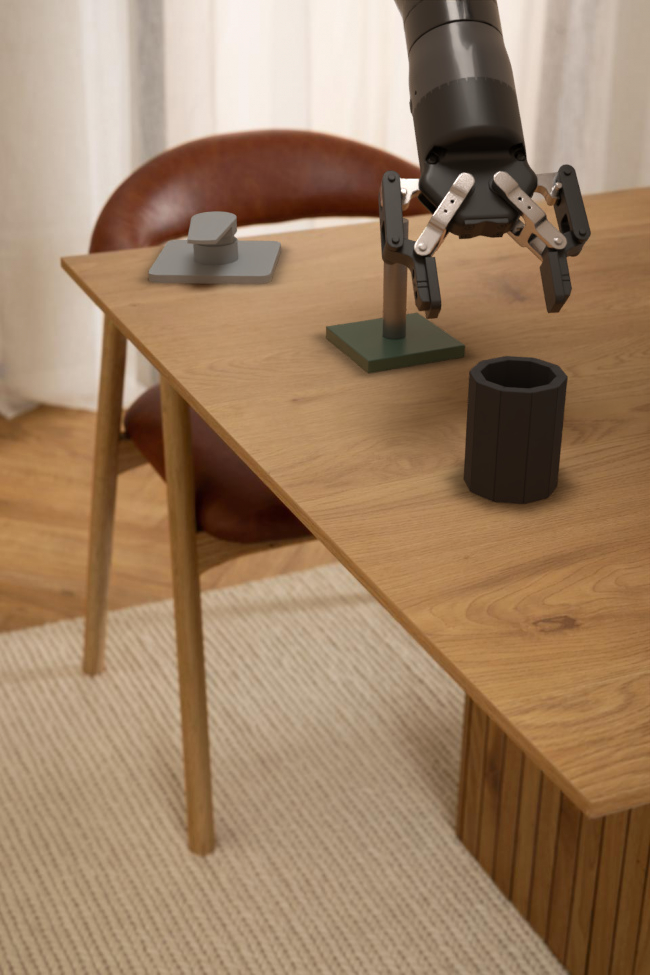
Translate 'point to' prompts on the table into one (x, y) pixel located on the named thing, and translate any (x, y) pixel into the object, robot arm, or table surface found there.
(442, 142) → the robot arm
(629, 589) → the table surface
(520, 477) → the faceted pencil cup
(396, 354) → the holder
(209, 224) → the shower valve
